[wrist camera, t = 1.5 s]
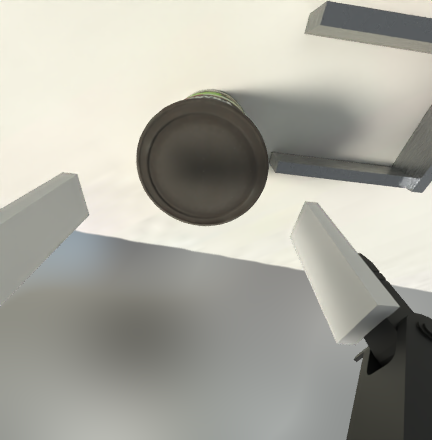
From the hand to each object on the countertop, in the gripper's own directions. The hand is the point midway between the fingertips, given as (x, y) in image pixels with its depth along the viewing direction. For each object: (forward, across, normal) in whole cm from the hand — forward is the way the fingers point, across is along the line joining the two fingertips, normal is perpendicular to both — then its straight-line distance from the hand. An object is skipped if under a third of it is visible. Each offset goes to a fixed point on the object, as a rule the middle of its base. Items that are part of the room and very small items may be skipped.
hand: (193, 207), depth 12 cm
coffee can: (+19, 0, 0) cm, 19 cm away
